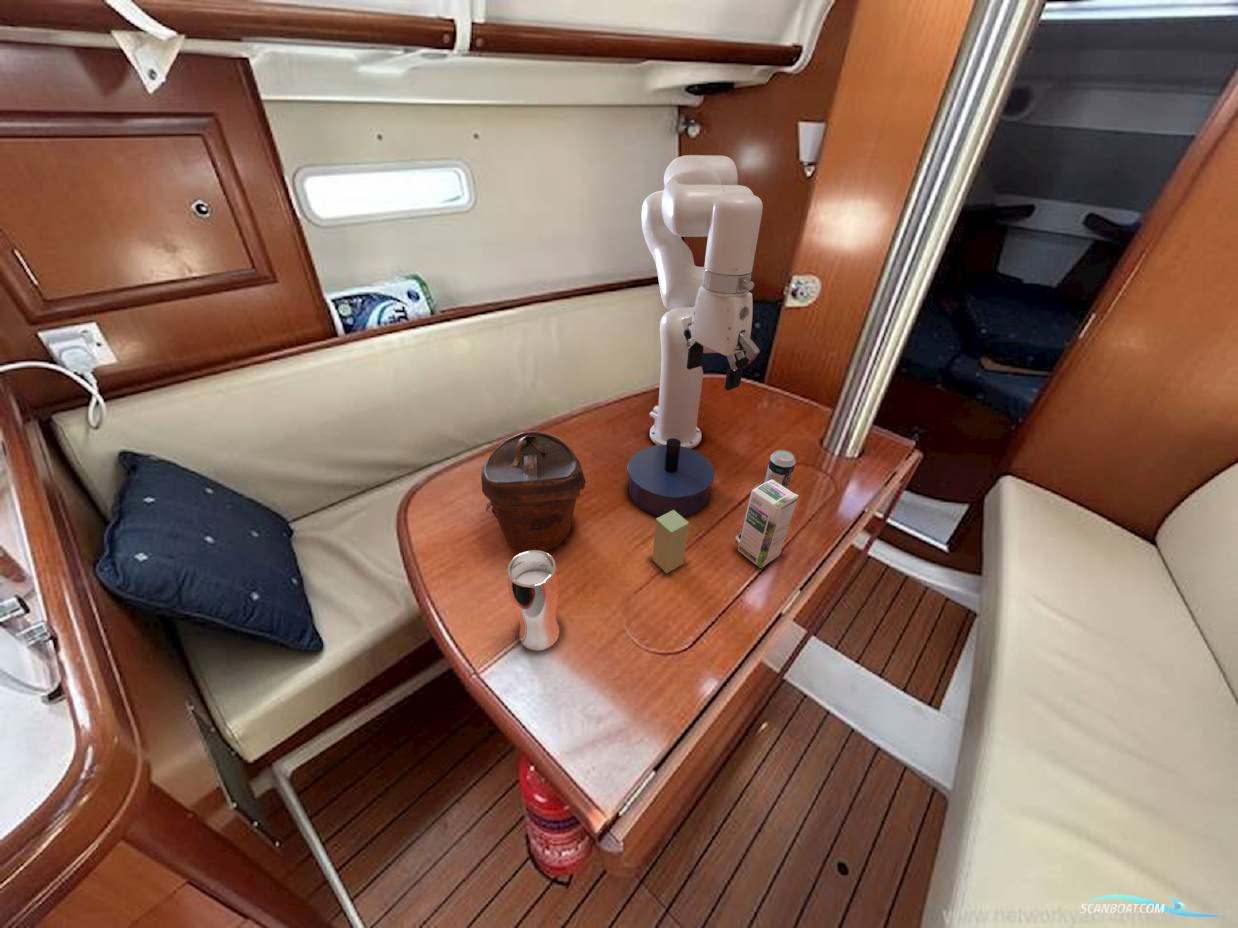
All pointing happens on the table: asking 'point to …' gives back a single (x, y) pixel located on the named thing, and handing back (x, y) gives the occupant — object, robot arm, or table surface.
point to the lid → (671, 471)
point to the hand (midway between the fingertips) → (712, 377)
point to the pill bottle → (781, 467)
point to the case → (533, 489)
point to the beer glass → (535, 597)
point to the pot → (667, 502)
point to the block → (670, 541)
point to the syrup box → (766, 522)
